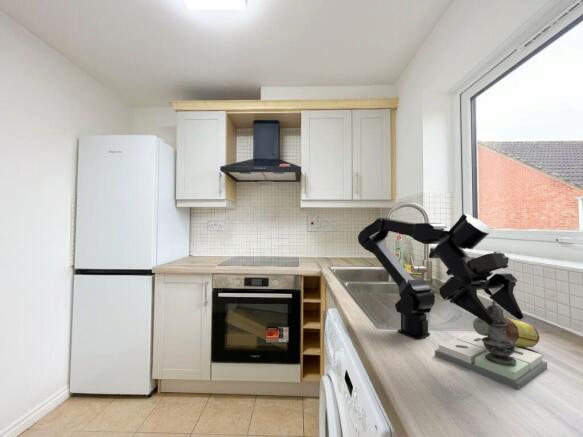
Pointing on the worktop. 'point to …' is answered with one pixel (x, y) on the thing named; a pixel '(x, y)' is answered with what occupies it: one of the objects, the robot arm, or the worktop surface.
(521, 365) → the green key
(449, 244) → the robot arm
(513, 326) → the sauce bottle
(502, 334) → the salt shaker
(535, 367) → the keypad board
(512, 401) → the worktop surface
